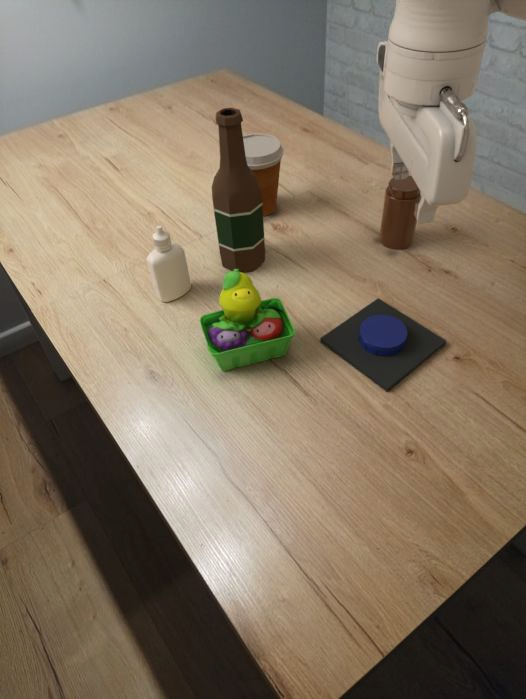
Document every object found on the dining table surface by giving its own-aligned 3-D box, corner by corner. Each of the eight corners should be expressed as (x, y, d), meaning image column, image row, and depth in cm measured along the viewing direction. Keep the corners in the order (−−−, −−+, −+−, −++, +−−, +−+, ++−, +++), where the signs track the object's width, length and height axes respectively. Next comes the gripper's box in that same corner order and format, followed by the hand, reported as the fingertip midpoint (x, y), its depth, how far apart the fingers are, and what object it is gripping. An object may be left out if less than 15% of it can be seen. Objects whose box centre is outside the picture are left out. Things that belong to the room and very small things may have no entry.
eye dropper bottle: (155, 286, 81) (137, 221, 73) (190, 280, 82) (177, 215, 73) (156, 304, 78) (138, 239, 70) (193, 298, 79) (180, 232, 70)
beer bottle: (213, 271, 83) (190, 123, 66) (226, 243, 88) (209, 98, 71) (260, 277, 82) (249, 126, 64) (271, 247, 87) (264, 100, 69)
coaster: (377, 301, 76) (378, 297, 76) (445, 344, 70) (446, 340, 69) (319, 342, 71) (320, 338, 71) (387, 392, 65) (388, 388, 64)
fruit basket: (215, 381, 68) (203, 319, 59) (201, 335, 73) (189, 273, 65) (297, 360, 69) (297, 297, 61) (277, 317, 75) (275, 254, 67)
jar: (393, 225, 89) (402, 169, 82) (420, 239, 86) (431, 182, 79) (372, 239, 87) (379, 183, 79) (398, 253, 84) (408, 196, 76)
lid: (350, 342, 70) (351, 334, 69) (374, 317, 73) (375, 308, 72) (390, 363, 67) (392, 354, 66) (414, 336, 70) (416, 327, 69)
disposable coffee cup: (255, 228, 91) (250, 164, 82) (223, 207, 96) (215, 144, 87) (295, 207, 95) (295, 144, 86) (262, 188, 100) (259, 126, 91)
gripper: (508, 110, 43) (470, 247, 53) (429, 33, 57) (411, 153, 67) (434, 118, 43) (410, 254, 53) (373, 39, 57) (363, 158, 67)
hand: (410, 197), depth 60 cm, fingers open, 8 cm apart
